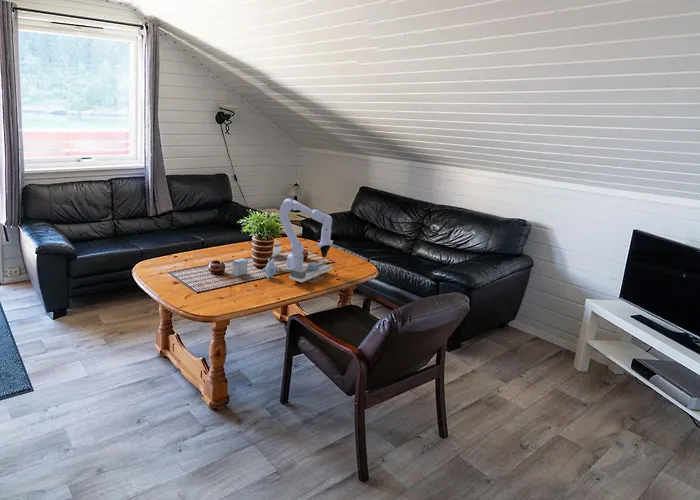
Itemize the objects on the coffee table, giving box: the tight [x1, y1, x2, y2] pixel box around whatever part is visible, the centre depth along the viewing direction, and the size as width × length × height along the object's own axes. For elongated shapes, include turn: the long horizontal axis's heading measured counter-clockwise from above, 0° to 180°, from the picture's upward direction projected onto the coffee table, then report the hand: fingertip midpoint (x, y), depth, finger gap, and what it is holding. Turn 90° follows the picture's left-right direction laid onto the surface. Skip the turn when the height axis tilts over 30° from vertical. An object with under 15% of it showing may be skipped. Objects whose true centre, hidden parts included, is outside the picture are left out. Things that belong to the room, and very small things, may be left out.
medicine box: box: [231, 257, 249, 277], centre depth 296 cm, size 8×4×9 cm, turn 146°
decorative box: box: [271, 239, 282, 258], centre depth 335 cm, size 13×13×11 cm
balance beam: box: [288, 261, 333, 284], centre depth 302 cm, size 11×32×8 cm, turn 150°
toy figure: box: [261, 257, 280, 279], centre depth 295 cm, size 11×6×12 cm, turn 116°
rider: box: [307, 261, 319, 272], centre depth 302 cm, size 4×5×4 cm
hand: (323, 256), depth 313 cm, fingers closed
